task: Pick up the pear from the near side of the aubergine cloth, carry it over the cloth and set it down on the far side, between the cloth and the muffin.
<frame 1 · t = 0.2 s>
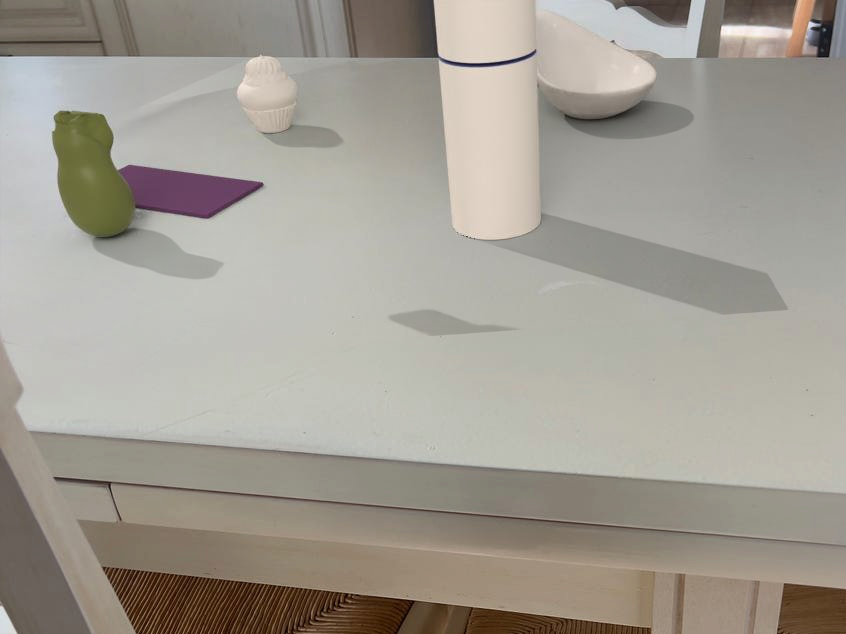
spoon rest: (563, 100, 106), on the table
cloth: (166, 191, 92), on the table
muffin: (274, 130, 104), on the table
cylindrical container: (496, 224, 82), on the table
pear: (110, 236, 85), on the table
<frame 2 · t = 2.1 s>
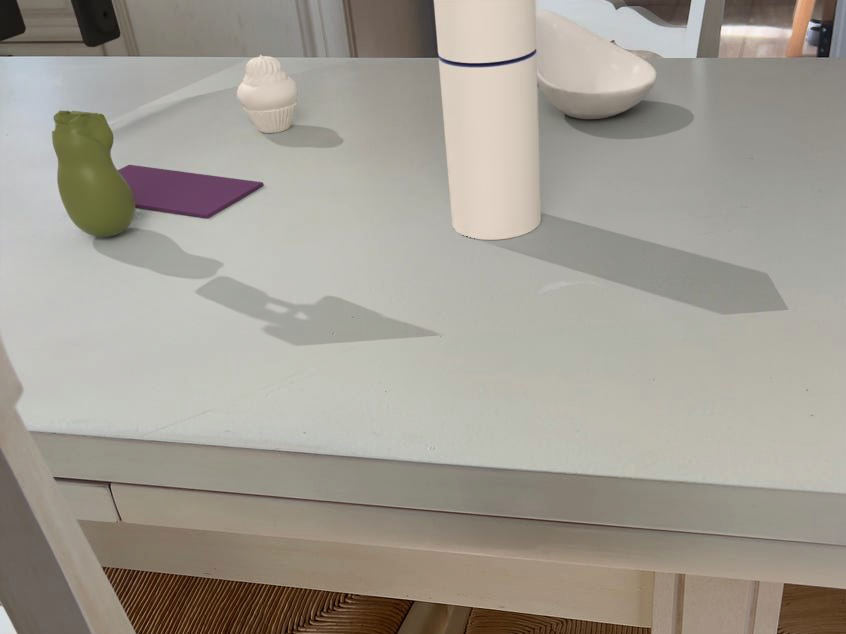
hand: (55, 39, 75), 15 cm above the table, tool pointing down, fingers open, 9 cm apart
nothing on the table moved.
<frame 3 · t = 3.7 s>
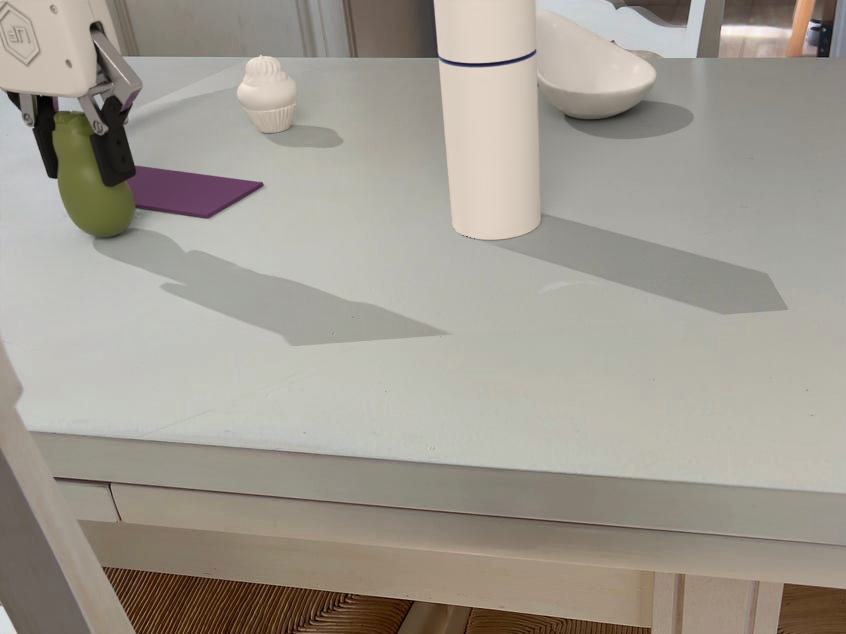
hand: (92, 174, 82), 5 cm above the table, tool pointing down, fingers closed on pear, 5 cm apart
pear: (110, 236, 85), on the table, touching gripper
everything else where it was.
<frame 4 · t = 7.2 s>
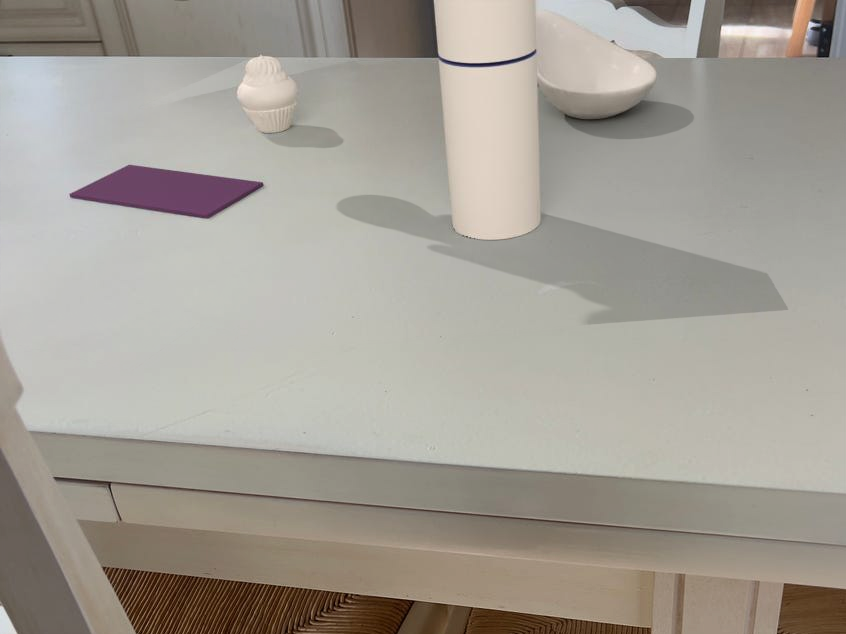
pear: (186, 2, 89), point 14 cm above the table, touching gripper
everything else where it was.
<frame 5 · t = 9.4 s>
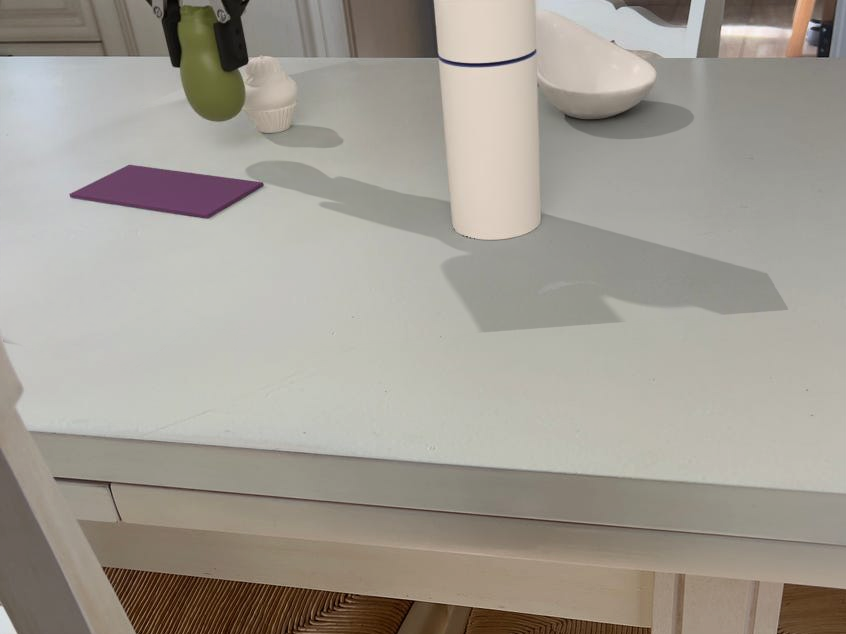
hand: (210, 63, 93), 8 cm above the table, tool pointing down, fingers closed on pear, 5 cm apart
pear: (223, 122, 96), point 3 cm above the table, touching gripper
everything else where it was.
when the fingers open (5 cm above the table, at t = 10.7 s): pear stays where it is, on the table.
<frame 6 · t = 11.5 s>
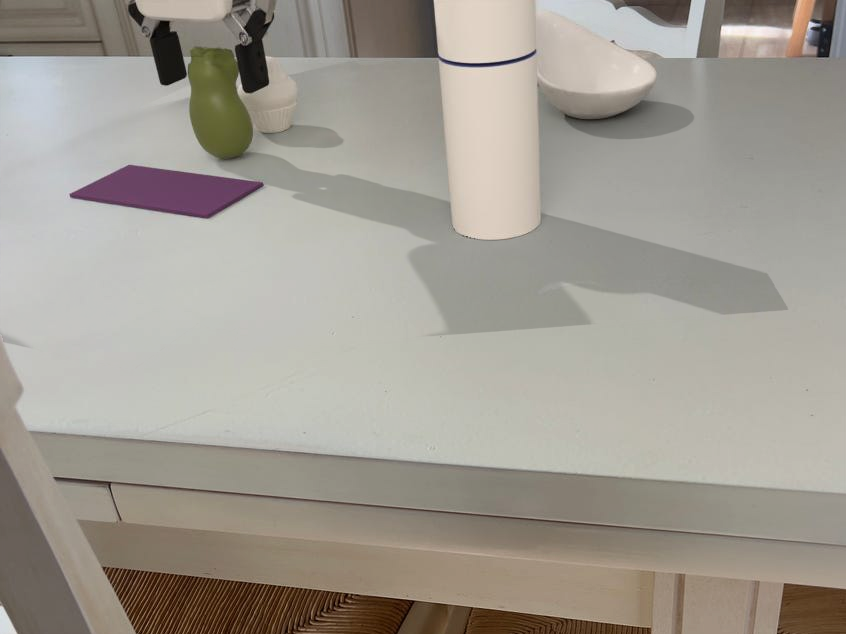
hand: (214, 85, 94), 7 cm above the table, tool pointing down, fingers open, 9 cm apart
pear: (230, 158, 98), on the table
everything else where it was.
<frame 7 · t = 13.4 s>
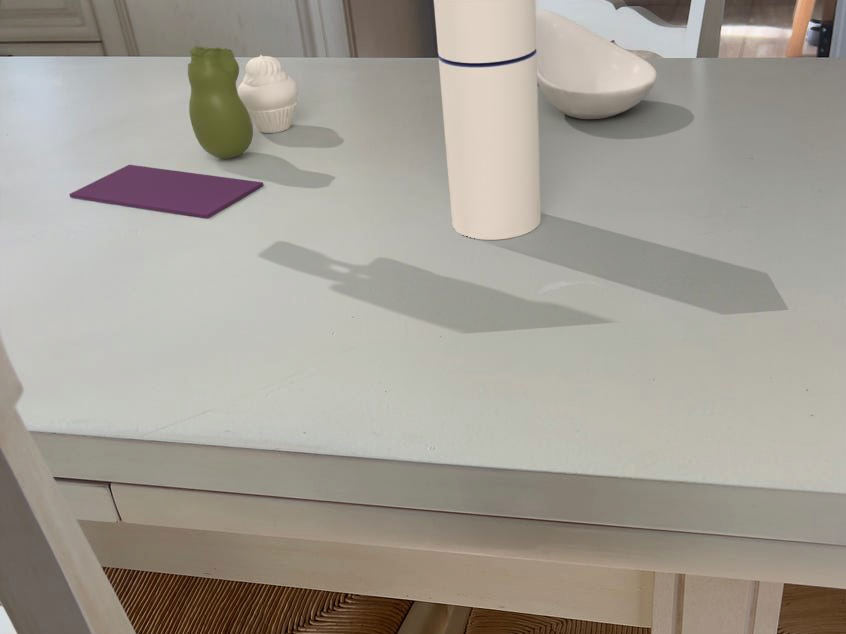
nothing on the table moved.
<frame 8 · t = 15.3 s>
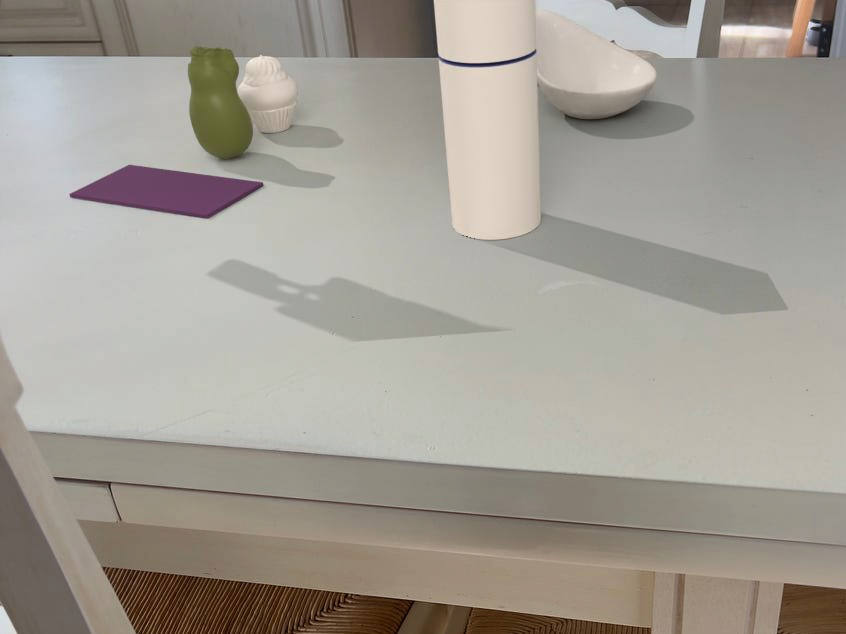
nothing on the table moved.
at the end: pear inside the target area on the table beside the cloth (0.1 cm from its centre), on the table; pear 8.6 cm from the muffin (horizontally); the gripper is holding nothing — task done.
